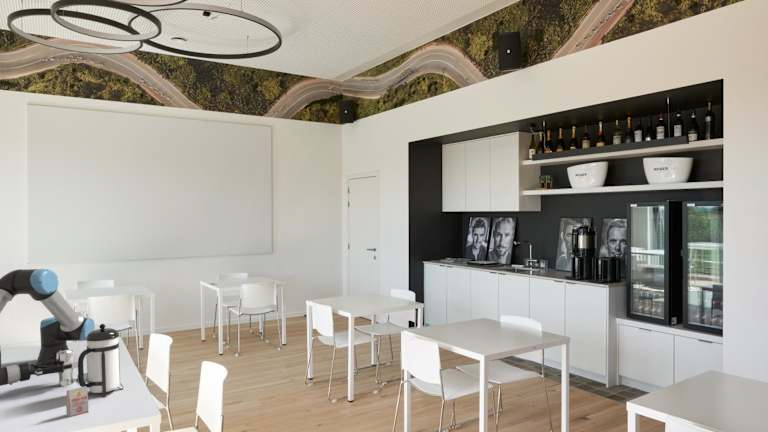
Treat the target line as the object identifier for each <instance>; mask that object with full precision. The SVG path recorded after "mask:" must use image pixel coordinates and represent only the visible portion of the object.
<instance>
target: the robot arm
mask: <svg viewBox="0 0 768 432" xmlns="http://www.w3.org/2000/svg"><path fill="white" fill-rule="evenodd" d="M58 279H59V278H58V275H57V274H56V273H55V272H54V271H53V270H51V269H47V268H46V269H45V268H38V269H37V268H33V269H30V268H29V269H27V268H26V269H14V270H12V271H9V272H8V273H6V274H5V275H3V276H1V277H0V314H1V313H2V312H3V309H4V308H5V307H6V305H7V303H8V302H12V300H13V299H14V297H16V296H18V295H29V296H30V297H31V298H32V300H33V301H36V302H40V303H41V304H42V305H43V306H44V307H45V308H46V309H47V310H48V312H49V313H50V314H51V315H52V317H47V318H44V319H42V320H41V321H40V323H39V324H40V326H39V327H40V328H39V329H40V330H39V331H40V350H39V355H38V357H37V362H36V363H29V362H24V363H19V364H18V365H17V364H13V365H7V366H3V367H2V349H1V346H0V386H1V387H2V386H6V385H10V386H12V385H13V384H15V383H18V382H25V381H29V380H31V376H34V375H35V376H36V377H40V376H44V375H50V374H57V373H58V372H64V370H67V369H72V368H73V369H75V368H78V360H74V362H70V363H65V364H63V365H57V364H56V357H57V352H60V351H64V350H70V348H69V347H68V344H67V342H77V341H78V342H83V341H86V337H87V335H88V334H89V333H90V332H92V331H94V330H95V327H96V326H95V325H96V324H95V321H94V318H90V317H85V316H84V314H82V313H81V312H76V310H74V308H73V306H71V304H70V303H69V302H68V300H66V299H65V297H64V296H63V295H62V294H61V293H60V292H59V290H58V286H59V280H58Z"/></svg>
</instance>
